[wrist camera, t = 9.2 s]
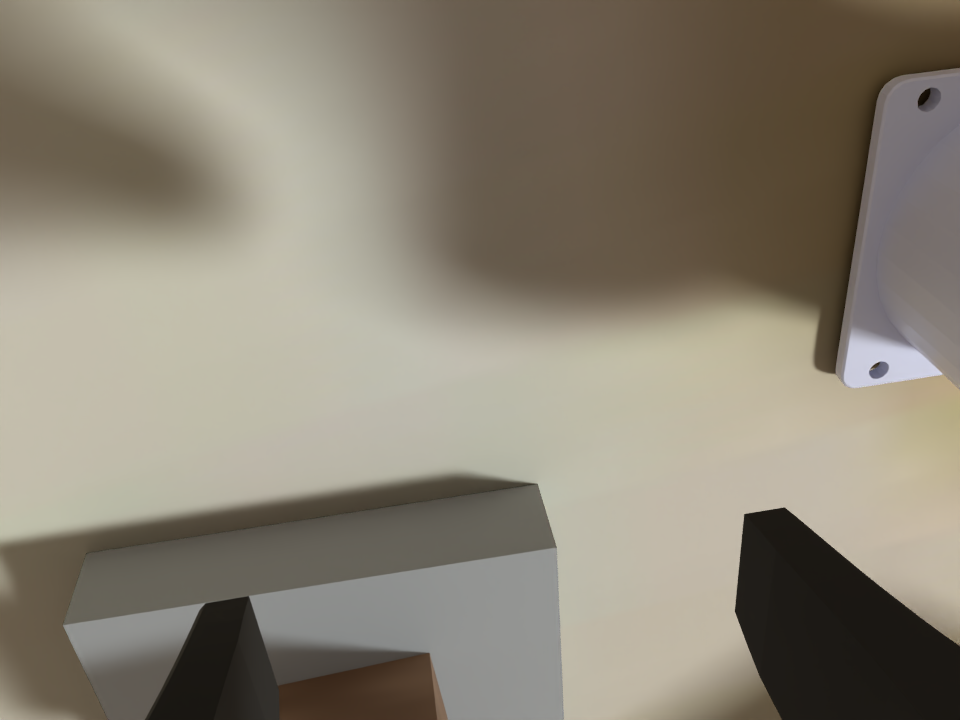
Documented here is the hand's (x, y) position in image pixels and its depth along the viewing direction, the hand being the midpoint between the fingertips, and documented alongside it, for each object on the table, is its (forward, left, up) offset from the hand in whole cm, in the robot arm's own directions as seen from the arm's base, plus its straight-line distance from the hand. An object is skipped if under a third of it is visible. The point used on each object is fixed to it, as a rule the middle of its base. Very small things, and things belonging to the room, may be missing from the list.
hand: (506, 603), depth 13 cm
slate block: (+4, +12, -10) cm, 16 cm away
